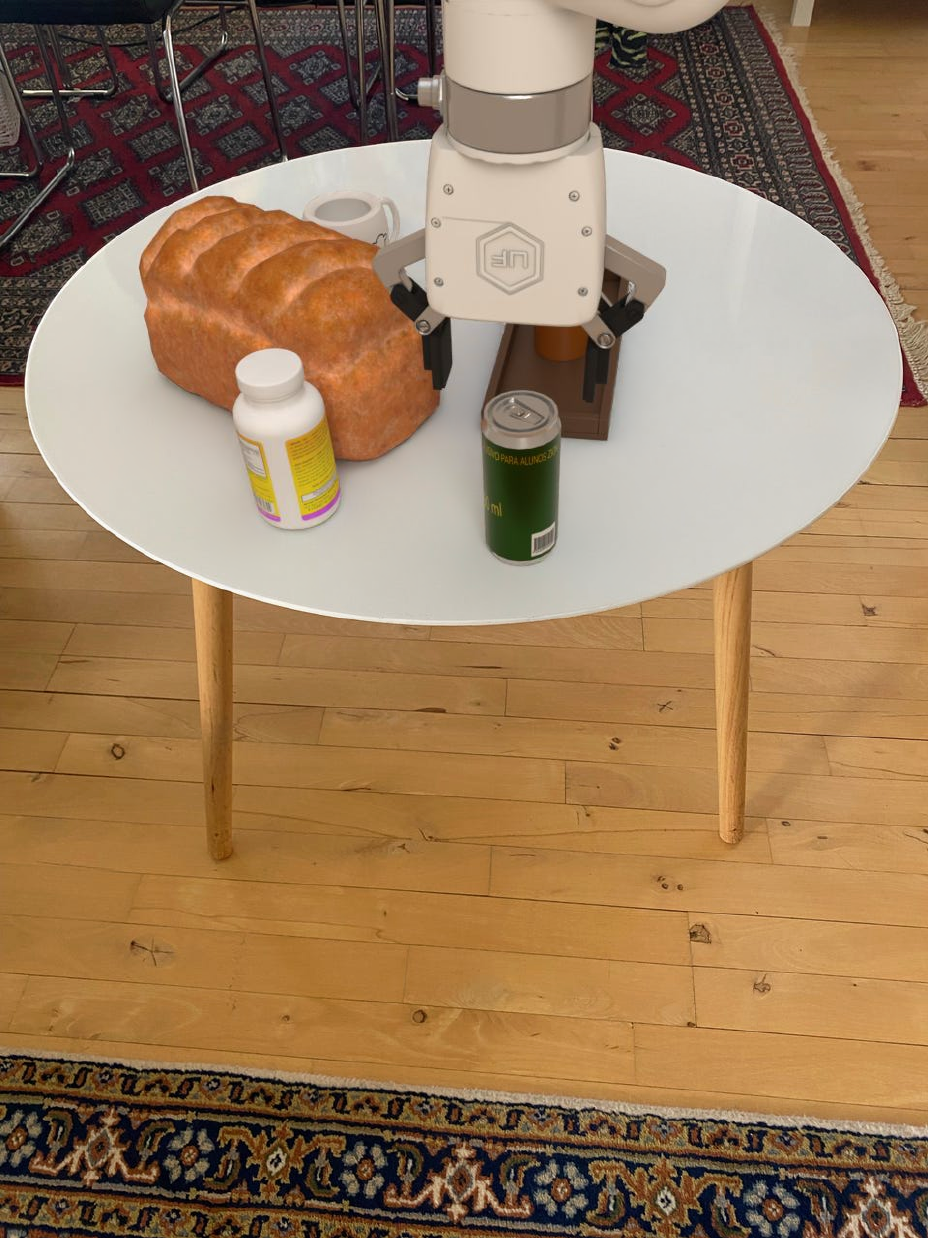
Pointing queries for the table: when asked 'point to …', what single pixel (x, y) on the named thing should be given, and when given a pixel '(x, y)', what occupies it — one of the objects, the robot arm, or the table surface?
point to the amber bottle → (560, 342)
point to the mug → (354, 216)
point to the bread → (285, 318)
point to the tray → (558, 375)
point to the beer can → (521, 476)
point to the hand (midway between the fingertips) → (515, 383)
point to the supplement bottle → (285, 440)
